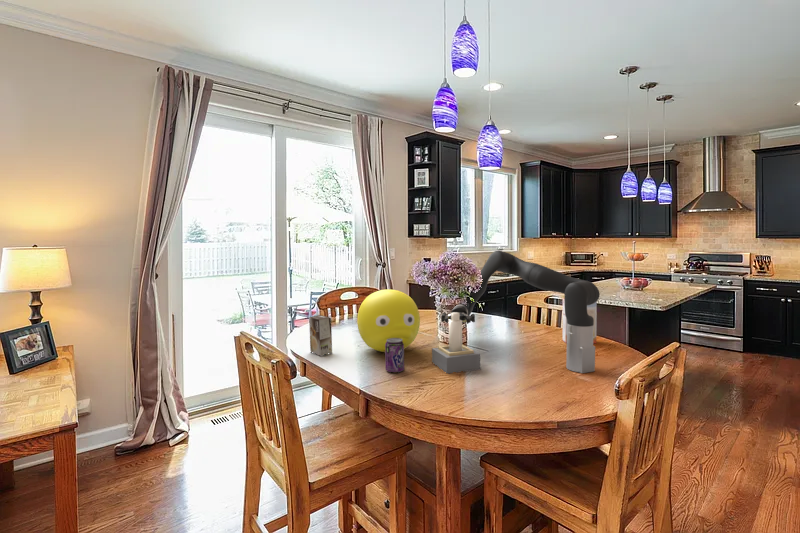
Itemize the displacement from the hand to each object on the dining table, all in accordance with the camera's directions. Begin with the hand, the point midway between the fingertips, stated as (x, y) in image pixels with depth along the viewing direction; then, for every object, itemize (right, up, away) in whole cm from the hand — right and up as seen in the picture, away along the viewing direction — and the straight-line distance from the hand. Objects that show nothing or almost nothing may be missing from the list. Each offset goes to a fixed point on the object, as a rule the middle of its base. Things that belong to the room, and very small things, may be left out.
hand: (457, 321), depth 175 cm
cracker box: (+61, -13, +24) cm, 66 cm away
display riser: (-2, -16, -10) cm, 19 cm away
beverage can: (-26, -17, -14) cm, 34 cm away
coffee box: (-59, -16, +11) cm, 62 cm away
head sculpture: (-29, -15, +13) cm, 35 cm away
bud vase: (-2, -10, -10) cm, 15 cm away
